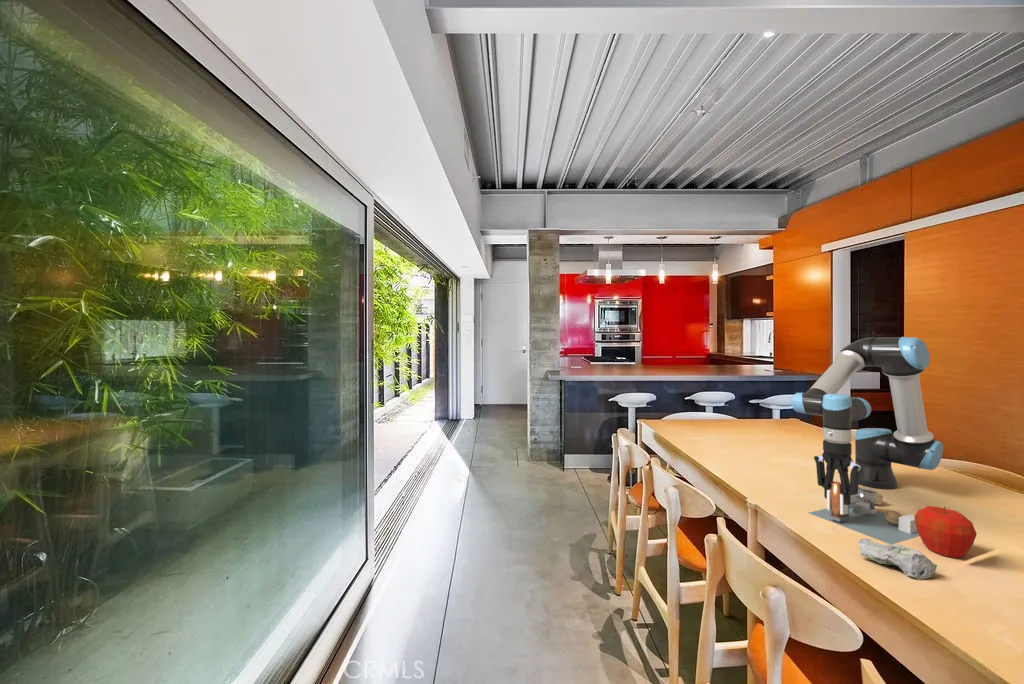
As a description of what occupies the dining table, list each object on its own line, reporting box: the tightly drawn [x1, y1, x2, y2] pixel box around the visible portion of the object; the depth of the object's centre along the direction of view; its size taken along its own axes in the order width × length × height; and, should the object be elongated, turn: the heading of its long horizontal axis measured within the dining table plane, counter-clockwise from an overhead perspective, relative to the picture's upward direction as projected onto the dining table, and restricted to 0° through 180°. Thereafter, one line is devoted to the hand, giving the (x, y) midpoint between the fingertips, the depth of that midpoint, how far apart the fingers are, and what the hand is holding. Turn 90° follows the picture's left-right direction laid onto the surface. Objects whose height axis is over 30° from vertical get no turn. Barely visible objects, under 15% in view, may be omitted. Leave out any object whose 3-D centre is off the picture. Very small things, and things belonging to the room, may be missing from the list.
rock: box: [851, 485, 884, 505], centre depth 156 cm, size 7×11×10 cm
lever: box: [829, 480, 876, 522], centre depth 142 cm, size 21×6×12 cm, turn 115°
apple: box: [914, 505, 978, 559], centre depth 119 cm, size 12×12×14 cm
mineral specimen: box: [858, 538, 938, 581], centre depth 113 cm, size 16×7×7 cm, turn 43°
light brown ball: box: [885, 510, 903, 525], centre depth 136 cm, size 4×4×4 cm
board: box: [808, 507, 920, 545], centre depth 139 cm, size 24×24×5 cm
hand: (837, 511), depth 139 cm, fingers closed on lever, 3 cm apart
